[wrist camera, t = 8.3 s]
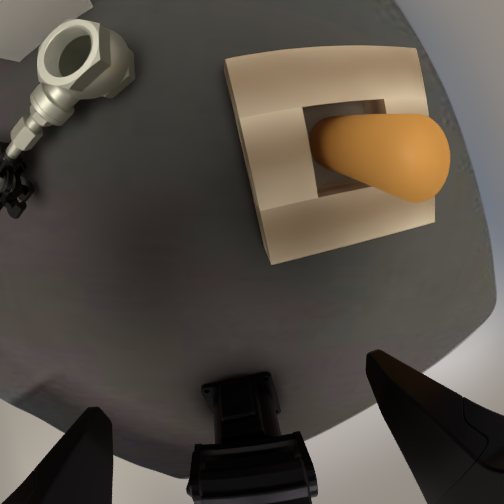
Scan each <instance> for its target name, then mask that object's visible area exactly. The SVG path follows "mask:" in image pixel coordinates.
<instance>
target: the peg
mask: <svg viewBox="0 0 504 504" xmlns="http://www.w3.org/2000/svg"><path fill="white" fill-rule="evenodd" d="M309 145H310V151H311V154H312V156H313V158H314V159H315V161H316V162H317V163H318V164H320V165H321V166H323V167H324V168H327V169H329V170H332V171H335V172H337V173H340V174H343V175H345V176H348V177H350V178H353V179H355V180H358V181H360V182H363V183H365V184H368V185H370V186H373V187H375V188H377V189H380V190H382V191H384V192H387V193H389V194H391V195H394V196H396V197H398V198H400V199H403V200H405V201H407V202H411V203H421V202H424V201H427V200H429V199H431V198H432V197H434V196H435V195H436V194H437V193H438V192H439V191H440V189H441V188H442V186H443V185H444V183H445V181H446V178H447V175H448V172H449V166H450V151H449V146H448V142H447V139H446V137H445V134H444V133H443V131H442V129H441V128H440V127H439V125H438V124H437V123H436V122H435V121H434V120H432V119H431V118H429V117H427V116H425V115H422V114H364V115H345V116H331V117H326V118H323V119H322V120H320V121H319V122H317V123H316V124H315V126H314V127H313V129H312V130H311V133H310V137H309Z"/></svg>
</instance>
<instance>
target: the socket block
mask: <svg viewBox="0 0 504 504" xmlns="http://www.w3.org/2000/svg"><path fill="white" fill-rule="evenodd" d="M224 73H225V77H226V82H227V86H228V90H229V94H230V99H231V103H232V107H233V112H234V116H235V120H236V124H237V129H238V133H239V137H240V142H241V146H242V151H243V155H244V159H245V164H246V168H247V173H248V177H249V182H250V186H251V191H252V195H253V200H254V204H255V209H256V213H257V218H258V222H259V227H260V231H261V236H262V241H263V245H264V248H265V250H266V253H267V255H268V258H269V260H270V263H271V265H274V264H278V263H282V262H286V261H290V260H294V259H298V258H302V257H305V256H309V255H313V254H317V253H321V252H325V251H329V250H333V249H336V248H340V247H344V246H348V245H352V244H355V243H359V242H363V241H367V240H371V239H374V238H378V237H382V236H385V235H389V234H393V233H397V232H400V231H404V230H408V229H411V228H415V227H419V226H422V225H426V224H429V223H433V222H435V196H434V197H432V198H431V199H429V200H427V201H424V202H421V203H411V202H407V201H405V200H403V199H400V198H398V197H396V196H394V195H391V194H389V193H387V192H384V191H382V190H380V189H377V188H375V187H373V186H370V185H368V184H365V183H363V182H360V181H358V180H355V179H353V178H350V177H348V176H345V175H343V174H340V173H337V172H335V171H332V170H329V169H327V168H324V167H323V166H321V165H320V164H318V163H317V162H316V161H315V159H314V158H313V156H312V154H311V151H310V145H309V137H310V133H311V130H312V129H313V127H314V126H315V124H316V123H317V122H319V121H320V120H322V119H323V118H326V117H331V116H345V115H364V114H422V115H425V116H427V117H429V114H428V107H427V100H426V94H425V88H424V83H423V78H422V73H421V68H420V63H419V59H418V55H417V50H416V48H405V47H390V46H323V47H308V48H296V49H286V50H278V51H270V52H263V53H256V54H250V55H244V56H238V57H233V58H228V59H225V64H224Z"/></svg>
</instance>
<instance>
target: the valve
mask: <svg viewBox="0 0 504 504" xmlns="http://www.w3.org/2000/svg"><path fill="white" fill-rule="evenodd" d="M37 69H38V78H39V82H41V83H40V84H39V85H38V86H37V87H36V89H35V90H34V91H33V92H32V93H31V95H30V100H31V103H32V105H31V106H30V113H31V115H30V116H22V118H21V119H20V120H19V121H18V123H17V124H16V125H15V127H14V128H13V129H12V131H11V140H12V142H11V143H10V144H9V143H3V142H0V187H2V188H1V189H0V210H1V209H2V207H3V206H4V207H6V208H7V211H8V214H9V215H10V216H11V217H12V218H15V219H17V218H19V217H20V216H21V214H22V213H23V211H24V210H25V209H26V206H27V205H26V202H25V201H27V200H28V199H29V198H30V196H31V195H32V194H33V192H34V190H35V189H34V186H33V184H32V183H31V182H29V181H28V182H27V184H26V185H22V184H21V179H20V176H21V175H22V174H23V172H24V171H25V170H26V165H25V163H24V162H23V158H22V156H21V154H20V153H21V151H22V150H23V151H27V150H30V149H32V148H33V146H34V145H35V144H36V143H37V141H38V140H39V139H40V138H41V137H42V135H43V131H42V127H43V126H44V127H48V126H51V125H52V124H53V125H56V126H61V125H63V124H64V123H65V122H66V121H67V120H68V118H69V117H70V116H71V115H72V114H73V113H74V105H75V104H76V103H77V102H78V101H79V100H81V99H94V98H98V97H101V96H103V97H106V98H110V99H113V98H114V97H115V96H116V95H117V94H119V93H120V92H121V91H122V90H123V89H124V88H126V87H127V86H128V85H129V84H130V83H132V82H133V81H134V80H135V64H134V52H132V51H131V50H130V49H129V48H128V47H127V44H126V42H125V41H124V39H123V38H122V37H121V36H120V35H119V34H117V33H116V32H114V31H112V30H110V29H106V28H105V27H103V26H102V25H101V24H100V23H96V22H92V21H87V20H81V19H71V18H68V19H67V20H65V21H64V22H63V23H61V24H60V25H59V26H58V27H57V28H56V29H54V30H53V31H52V32H51V33H50V34H49V35H48V36H47V38H46V39H45V40H44V41H43V42H42V44H41V45H40V46H39V50H38V59H37ZM11 188H12V191H11ZM10 191H11V193H10ZM17 197H18V198H19V199H20V200H22V202H20V203H19V202H18V200H17Z"/></svg>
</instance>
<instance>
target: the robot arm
mask: <svg viewBox="0 0 504 504" xmlns="http://www.w3.org/2000/svg"><path fill="white" fill-rule="evenodd" d="M366 375H367V378H368V380H369V383H370V385H371V388H372V390H373V393H374V396H375V398H376V401H377V403H378V406H379V409H380V411H381V413H382V415H383V417H384V420H385V421H386V423H387V425H388V427H389V429H390V430H391V433H392V435H393V437H394V438H395V440H396V442H397V444H398V446H399V448H400V450H401V452H402V454H403V455H404V457H405V460H406V462H407V464H408V465H409V468H410V469H411V471H412V473H413V475H414V477H415V479H416V481H417V483H418V485H419V487H420V489H421V491H422V493H423V496H424V497H425V500H426V502H427V504H504V416H503V415H501V414H498V413H496V412H493V411H491V410H489V409H486V408H484V407H482V406H480V405H478V404H476V403H474V402H472V401H470V400H469V399H467V398H465V397H462V396H461V395H459V394H457V393H456V392H454V391H452V390H450V389H449V388H447V387H445V386H443V385H441V384H440V383H438V382H436V381H434V380H432V379H431V378H429V377H427V376H426V375H424V374H422V373H420V372H418V371H417V370H415V369H413V368H411V367H410V366H408V365H406V364H404V363H403V362H401V361H399V360H397V359H396V358H394V357H392V356H390V355H389V354H387V353H385V352H384V351H382V350H379V349H377V350H374V351H371V352H369V353H368V354H367V356H366ZM265 377H267V378H265ZM201 392H202V394H203V396H204V398H205V400H206V402H207V404H208V405H209V407H210V409H211V411H212V413H213V414H214V430H215V444H206V445H202V444H195V449H194V452H193V454H192V462H191V470H190V478H189V482H188V485H187V488H186V490H187V494H188V495H189V496H191V497H192V499H193V501H194V504H312V501H311V498H312V497H316V496H317V495H318V486H317V479H316V474H315V470H314V467H313V463H312V461H311V458H310V456H309V453H308V451H307V448H306V446H305V443H304V440H303V438H302V435H301V433H300V431H297V432H293V433H292V434H287V435H281V432H280V428H279V423H278V419H277V414H279V413H280V412H281V410H280V406H279V403H278V399H277V395H276V392H275V388H274V384H273V381H272V377H271V374H270V373H268V372H265V373H260V374H256V375H252V376H247V377H243V378H238V379H233V380H228V381H223V382H218V383H213V384H208V385H203V386H202V387H201ZM112 478H113V440H112V423H111V421H110V419H109V418H108V417H107V416H106V414H105V413H104V412H103V411H102V410H101V409H100V408H99V407H88V408H87V409H86V410H85V411H84V412H83V414H82V415H81V416H80V417H79V418H78V419H77V420H76V422H75V423H74V424H73V425H72V426H71V427H70V428H69V430H68V431H67V432H66V433H65V434H64V435H63V436H62V438H61V439H60V440H59V441H58V442H57V443H56V445H55V446H54V447H53V448H52V449H51V450H50V451H49V453H48V454H47V455H46V456H45V457H44V458H43V460H42V461H41V462H40V463H39V464H38V465H37V467H36V468H35V469H34V471H32V472H31V474H30V475H29V476H28V477H27V478H26V480H25V481H24V482H23V483H22V484H21V485H20V486H19V487H18V488H17V489H16V490H15V491H14V492H13V493H12V494H11V495H10V496H9V497H8V498H7V499H6V500H5V501H4V502H3V503H2V504H112V480H113V479H112Z"/></svg>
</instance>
